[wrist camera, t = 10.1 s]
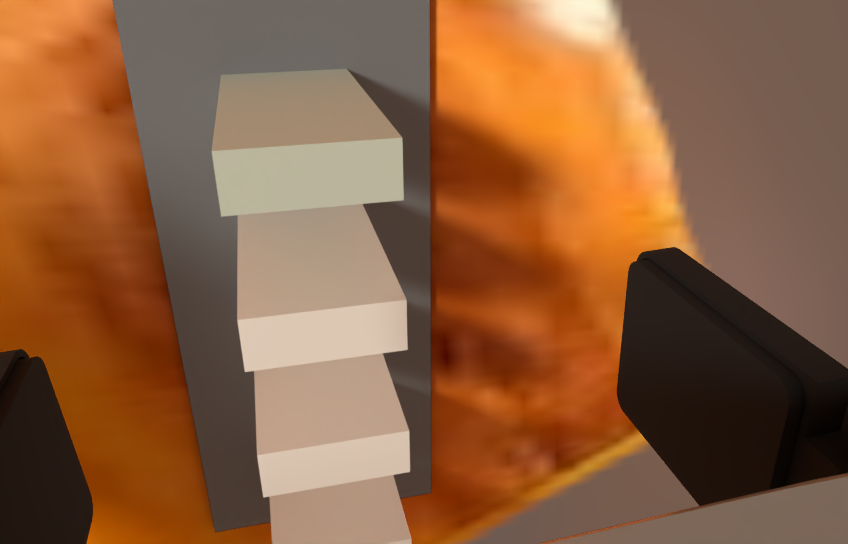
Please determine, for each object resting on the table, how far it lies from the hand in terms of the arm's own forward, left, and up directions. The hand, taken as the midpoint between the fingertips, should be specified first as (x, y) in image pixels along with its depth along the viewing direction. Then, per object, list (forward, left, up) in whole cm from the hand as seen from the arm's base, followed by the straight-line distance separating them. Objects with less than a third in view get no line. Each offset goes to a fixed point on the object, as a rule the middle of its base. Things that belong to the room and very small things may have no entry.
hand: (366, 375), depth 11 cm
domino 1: (0, 0, -20) cm, 20 cm away
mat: (+6, -6, -20) cm, 22 cm away
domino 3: (+7, -7, -20) cm, 22 cm away
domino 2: (+3, -3, -20) cm, 20 cm away
